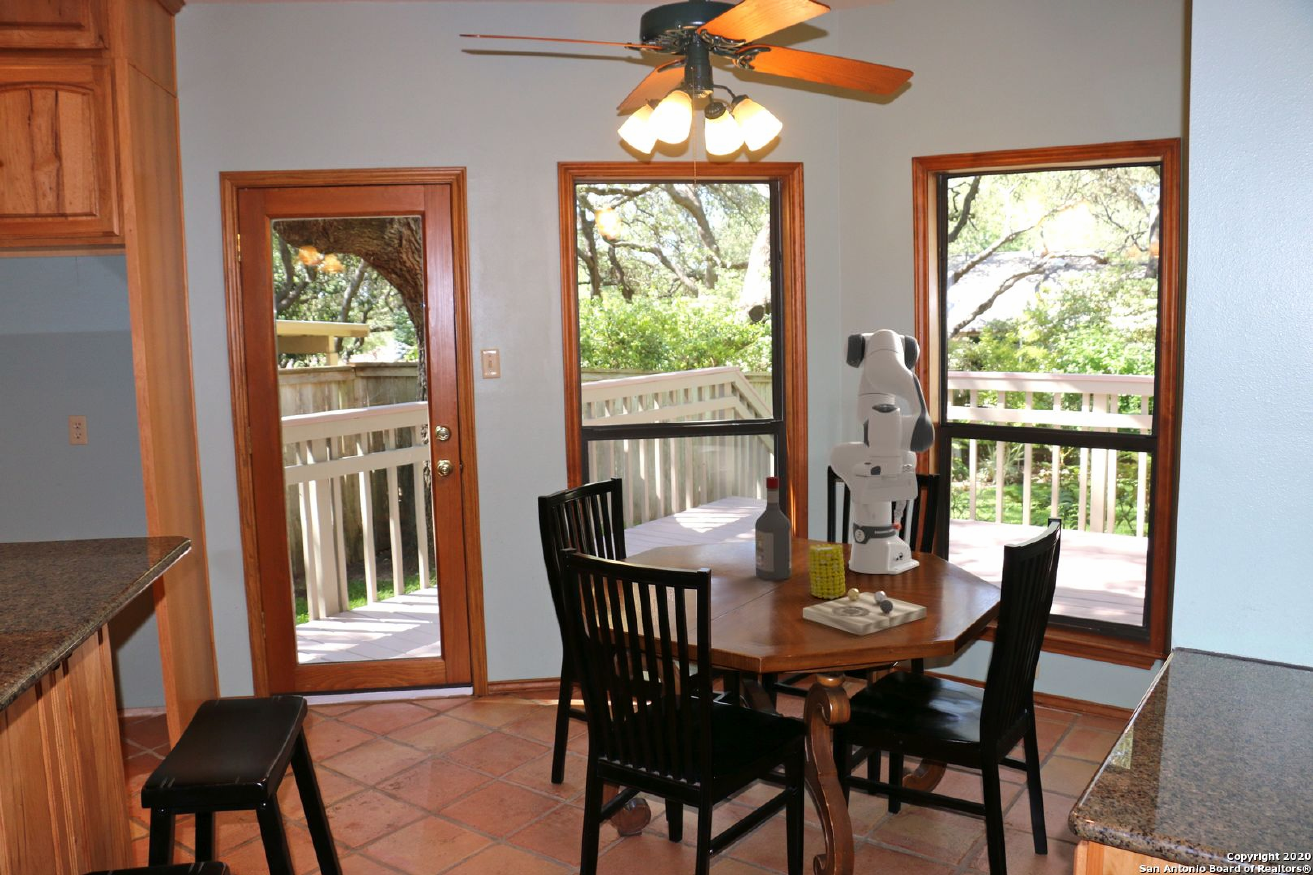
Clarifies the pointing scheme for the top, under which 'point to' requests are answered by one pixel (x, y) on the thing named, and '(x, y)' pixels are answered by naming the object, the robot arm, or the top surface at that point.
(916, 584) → the top surface
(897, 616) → the board
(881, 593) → the steel ball
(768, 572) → the liquor
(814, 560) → the food
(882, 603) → the dark grey ball
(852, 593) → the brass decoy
